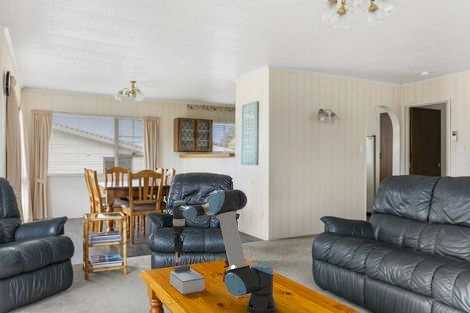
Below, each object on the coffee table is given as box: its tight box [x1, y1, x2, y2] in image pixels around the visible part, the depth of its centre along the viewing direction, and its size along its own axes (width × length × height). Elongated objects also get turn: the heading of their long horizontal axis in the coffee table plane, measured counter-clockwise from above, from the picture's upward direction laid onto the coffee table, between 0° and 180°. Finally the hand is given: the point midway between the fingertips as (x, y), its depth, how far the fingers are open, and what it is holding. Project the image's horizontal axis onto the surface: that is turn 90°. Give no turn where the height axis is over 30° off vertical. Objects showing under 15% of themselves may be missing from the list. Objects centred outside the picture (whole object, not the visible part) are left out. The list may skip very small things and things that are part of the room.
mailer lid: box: [169, 264, 206, 282], centre depth 219 cm, size 20×14×4 cm
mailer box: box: [169, 272, 206, 296], centre depth 219 cm, size 20×14×7 cm
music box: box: [221, 253, 229, 283], centre depth 233 cm, size 15×11×20 cm
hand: (178, 261), depth 231 cm, fingers closed
